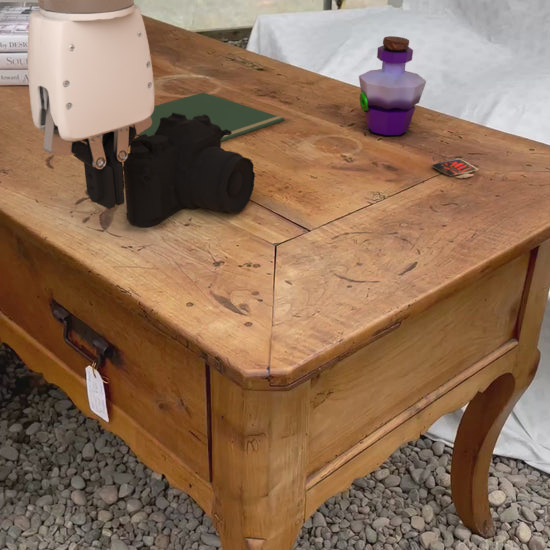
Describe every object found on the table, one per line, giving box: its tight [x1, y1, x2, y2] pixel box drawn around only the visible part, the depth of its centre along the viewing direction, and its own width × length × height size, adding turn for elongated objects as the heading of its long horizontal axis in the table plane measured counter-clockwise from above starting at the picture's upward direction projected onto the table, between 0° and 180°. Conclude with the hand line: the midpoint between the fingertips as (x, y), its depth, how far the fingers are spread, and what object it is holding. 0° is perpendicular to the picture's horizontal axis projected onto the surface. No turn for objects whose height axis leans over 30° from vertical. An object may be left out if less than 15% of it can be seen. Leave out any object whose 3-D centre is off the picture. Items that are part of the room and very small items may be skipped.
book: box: [137, 92, 285, 143], centre depth 104 cm, size 18×16×1 cm
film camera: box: [122, 113, 256, 228], centre depth 79 cm, size 15×10×9 cm, turn 150°
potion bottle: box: [358, 35, 427, 138], centre depth 100 cm, size 9×9×12 cm
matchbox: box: [430, 157, 479, 179], centre depth 91 cm, size 5×5×1 cm
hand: (107, 201), depth 71 cm, fingers closed
